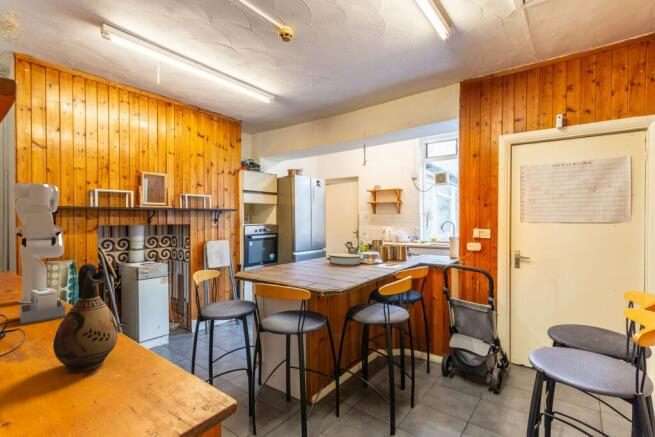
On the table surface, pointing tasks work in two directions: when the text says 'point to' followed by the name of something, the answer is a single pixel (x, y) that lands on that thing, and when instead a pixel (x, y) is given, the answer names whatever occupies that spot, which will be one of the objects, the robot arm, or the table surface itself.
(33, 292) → the light bulb box
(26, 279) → the robot arm
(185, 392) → the table surface
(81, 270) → the ceramic jug
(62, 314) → the tray
